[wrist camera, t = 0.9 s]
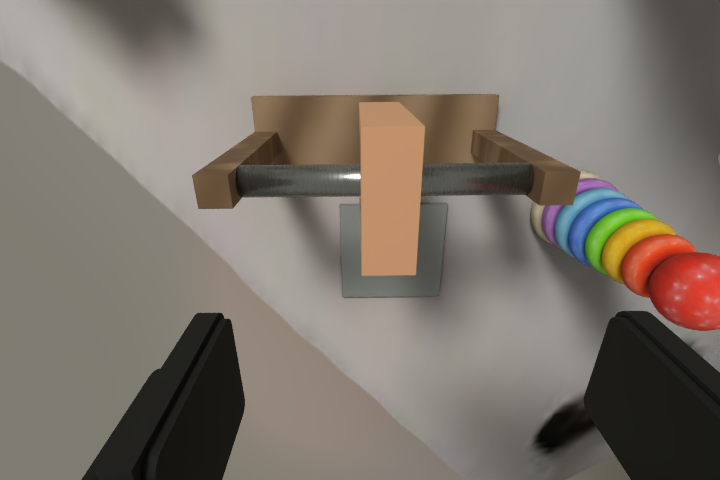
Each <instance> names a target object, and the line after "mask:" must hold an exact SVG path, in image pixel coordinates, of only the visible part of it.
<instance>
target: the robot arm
mask: <svg viewBox="0 0 720 480" xmlns="http://www.w3.org/2000/svg"><path fill="white" fill-rule="evenodd" d="M584 405H585V408H586V411H587V413H588V414H589V416H590V417H591V419H592V420H593V422H594V424H595V425H596V427H597V428H598V430H599V431H600V433H601V434H602V436H603V437H604V439H605V440H606V442H607V444H608V445H609V447H610V448H611V450H612V451H613V453H614V454H615V456H616V457H617V459H618V460H619V462H620V463H621V465H622V467H623V468H624V470H625V471H626V473H627V474H628V476H629V477H630V479H631V480H720V373H719V372H718V371H717V370H716V369H715V368H714V367H712V366H711V365H710V364H709V363H708V362H707V361H706V360H704V359H703V358H702V357H701V356H700V355H699V354H697V353H696V352H695V351H694V350H693V349H692V348H690V347H689V346H688V345H687V344H686V343H685V342H684V341H682V340H681V339H680V338H679V337H678V336H677V335H675V334H674V333H673V332H672V331H671V330H670V329H668V328H667V327H666V326H665V325H664V324H663V323H662V322H660V321H659V320H658V319H657V318H656V317H655V316H653V315H652V314H651V313H649V312H646V311H621V312H619V313H617V314H616V316H615V317H613V318H611V319H610V321H609V323H608V326H607V329H606V332H605V335H604V338H603V341H602V344H601V347H600V350H599V354H598V357H597V360H596V363H595V366H594V369H593V372H592V375H591V378H590V381H589V384H588V387H587V390H586V393H585V396H584ZM244 406H245V399H244V392H243V386H242V380H241V375H240V369H239V363H238V357H237V352H236V346H235V341H234V334H233V329H232V324H231V320H230V319H224V316H223V314H222V313H197V314H196V315H195V316H194V317H193V319H192V321H191V322H190V324H189V325H188V327H187V329H186V330H185V331H184V333H183V335H182V336H181V338H180V339H179V341H178V342H177V344H176V346H175V347H174V349H173V350H172V352H171V353H170V355H169V357H168V358H167V360H166V361H165V363H164V365H163V366H162V368H161V369H157V370H155V371H154V372H153V373H152V374H151V375H150V376H149V378H148V380H147V381H146V383H145V384H144V385H143V387H142V389H141V390H140V392H139V393H138V395H137V396H136V398H135V399H134V401H133V402H132V404H131V405H130V407H129V408H128V410H127V411H126V413H125V414H124V416H123V417H122V419H121V421H120V422H119V424H118V425H117V427H116V428H115V430H114V431H113V433H112V434H111V436H110V437H109V439H108V440H107V442H106V443H105V445H104V446H103V448H102V449H101V451H100V453H99V454H98V456H97V457H96V459H95V460H94V462H93V463H92V465H91V466H90V468H89V469H88V471H87V472H86V474H85V475H84V477H83V478H82V480H222V478H223V475H224V472H225V469H226V466H227V462H228V459H229V456H230V454H231V451H232V447H233V444H234V441H235V438H236V435H237V432H238V429H239V425H240V423H241V420H242V416H243V413H244Z"/></svg>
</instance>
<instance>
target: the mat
mask: <svg viewBox="0 0 720 480" xmlns="http://www.w3.org/2000/svg"><path fill="white" fill-rule="evenodd" d="M446 216H447V203H422V204H420V217H419V233H418V249H417V265H416V275H386V276H362V268H361V233H360V204H340V235H341V268H342V297H398V296H439V291H440V280H441V269H442V259H443V248H444V237H445V226H446Z"/></svg>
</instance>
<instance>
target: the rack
mask: <svg viewBox="0 0 720 480" xmlns="http://www.w3.org/2000/svg"><path fill="white" fill-rule="evenodd" d="M251 101H252V110H253V118H254V127H255V132H254V133H253V134H251V135H250V136H248V137H247V138H246V139H244V140H243V141H241V142H240V143H238V144H237V145H235V146H234V147H232V148H231V149H230V150H228V151H227V152H225V153H224V154H222V155H221V156H219V157H218V158H217V159H215V160H214V161H212V162H211V163H209V164H208V165H206V166H205V167H204V168H202V169H201V170H199V171H198V172H196V173H195V174H193V175H192V178H193V183H194V188H195V193H196V199H197V204H198V209H233V208H234V206H235V205H236V204H237V203H238V202H239V200H240V199H241V198H242V197H342V196H361V189H360V130H359V102H400V103H401V104H402V105H403V106H404V107H405V108H406V109H407V110H408V111H409V112H410V113H411V114H412V115H414V116H415V117H416V118H417V119H418V120H419V121H420V122H421V123H422V124H423V125H424V126H425V136H424V153H423V169H422V185H421V196H449V195H526V196H528V197H529V198H530V199H531V200H533V201H534V202H535V203H537V204H538V205H539V206H549V205H573V203H574V199H575V195H576V191H577V187H578V182H579V178H580V174H581V172H580V171H578V170H576V169H574V168H572V167H570V166H568V165H566V164H564V163H562V162H560V161H557V160H555V159H553V158H551V157H549V156H547V155H545V154H543V153H541V152H539V151H537V150H535V149H533V148H531V147H529V146H527V145H525V144H523V143H520V142H518V141H516V140H514V139H512V138H510V137H508V136H506V135H504V134H502V133H500V132H498V131H496V130H495V123H496V116H497V108H498V101H499V95H496V94H454V95H324V96H253V97H251Z"/></svg>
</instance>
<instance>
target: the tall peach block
mask: <svg viewBox="0 0 720 480" xmlns="http://www.w3.org/2000/svg"><path fill="white" fill-rule="evenodd" d="M359 130H360V189H361V196H360V233H361V268H362V276H386V275H416V265H417V249H418V233H419V217H420V201H421V185H422V169H423V153H424V136H425V126H424V125H423V124H422V123H421V122H420V121H419V120H418V119H417V118H416V117H415V116H414V115H412V114H411V113H410V112H409V111H408V110H407V109H406V108H405V107H404V106H403V105H402V104H401V103H400V102H359Z"/></svg>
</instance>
